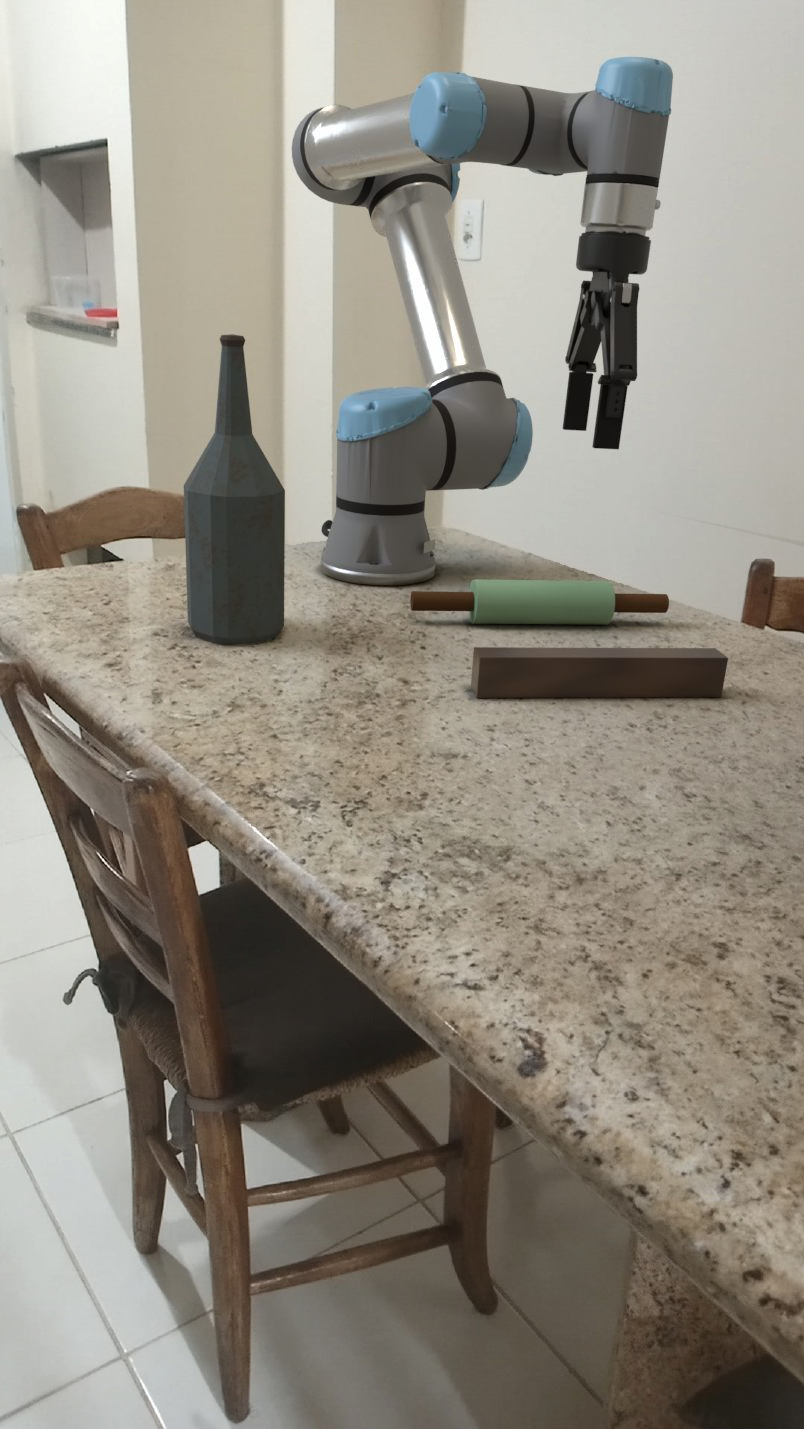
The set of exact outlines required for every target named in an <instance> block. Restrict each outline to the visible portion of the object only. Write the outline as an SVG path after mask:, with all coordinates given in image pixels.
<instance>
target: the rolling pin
mask: <svg viewBox="0 0 804 1429" xmlns="http://www.w3.org/2000/svg"><path fill="white" fill-rule="evenodd" d="M615 592H616V591H615V588H614V585H613V583H612V582H611V581H609V580H551V579H550V580H545V579H543V580H542V579H540V580H538V579H475V578H474V579H472V580H471V581H470V584H469V589H468V591H442V590H441V591H439V590H437V591H433V590H432V591H431V590H428V591H427V590H412V591H411V592H410V601H409V602H410V604H409V606H410V610H411V611H412V612H419V611H420V612H468V618H469V621H470V623H471V624H473V625H474V624H475V625H476V624H477V625H478V624H480V625H481V624H482V625H598V626H599V625H601V626H602V625H609V624H610V623H611V622H612V621H613V618H614V615H615V613H622V614H625V613H626V614H627V613H630V614H631V613H632V614H635V613H636V614H637V613H638V614H665V613H667V612H668V610H669V606H670V599H669V596H668V594H666V593H619V592H617V593H615Z"/></svg>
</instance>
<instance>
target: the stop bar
mask: <svg viewBox="0 0 804 1429" xmlns="http://www.w3.org/2000/svg"><path fill="white" fill-rule="evenodd" d="M472 652H473V654H472V665H471V679H470V689H471V690H472V692H473V693H474V696H475V697H476V699H543V698H545V699H547V698H549V699H550V698H551V699H552V698H553V699H557V698H558V699H559V698H560V699H561V698H563V699H564V698H565V699H567V698H570V699H571V698H572V699H573V698H574V699H575V698H581V699H582V698H583V699H585V698H589V699H590V698H592V699H593V698H594V699H595V698H596V699H597V698H722V696H723V690H724V684H725V679H726V672H727V668H728V662H729V657H727V656H726V655H725V654H724V653H722V652H721V651H720V650H718V648H716V647H523V646H522V647H520V646H519V647H518V646H517V647H513V646H512V647H509V646H507V647H504V646H503V647H502V646H501V647H496V646H494V647H493V646H489V647H488V646H484V647H483V646H479V647H477V646H474V647H473V651H472Z"/></svg>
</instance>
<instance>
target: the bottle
mask: <svg viewBox="0 0 804 1429" xmlns="http://www.w3.org/2000/svg"><path fill="white" fill-rule="evenodd" d="M219 342H220V345H221V351H220V362H219V374H218V375H219V376H218V377H219V378H218V389H217V400H216V411H215V412H216V413H215V424H214V433H213V435H212V436H211V437H210V440H209V441H208V443H207V445H206V446H205V448H204V450H203V451H202V453H201V455H200V457H199V458H198V460H197V462H196V463H195V465H194V467H193V468H192V470H191V472H190V473H189V475H188V477H187V479H186V480H185V482H184V484H183V508H184V509H183V510H184V538H185V539H184V540H185V541H184V542H185V544H184V545H185V571H186V572H185V574H186V577H185V578H186V607H187V622H188V624H189V627H190V630H191V631H192V632H193V634H194V637H195V638H196V639H199V640H204V641H207V642H210V643H213V644H217V645H219V644H220V645H226V646H227V645H229V646H231V645H251V644H260V643H263V642H264V643H265V642H268V641H270V640H272V639H273V638H275V637H276V636H278V635H279V634H280V633H281V632H282V630H283V628H284V626H285V556H286V555H285V553H286V551H285V550H286V549H285V548H286V546H285V541H286V539H285V537H286V534H285V533H286V531H285V530H286V526H285V525H286V490H285V488H284V486H283V484H282V483H281V481H280V479H279V477H278V476H277V474H276V472H275V471H274V468H273V467H272V465H271V463H270V462H269V460H268V459H267V456H266V455H265V454H264V452H263V450H262V448H261V446H260V445H259V442H258V441H257V440H256V438H255V436H254V435H253V426H252V418H251V416H252V415H251V408H250V399H249V397H250V396H249V388H248V378H247V369H246V360H245V358H246V357H245V350H244V346H245V344H246V338H245V337H244V336H243V335H239V334H221V335H220V337H219Z"/></svg>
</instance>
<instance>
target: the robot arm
mask: <svg viewBox="0 0 804 1429" xmlns="http://www.w3.org/2000/svg"><path fill="white" fill-rule="evenodd" d="M596 78H597V79H596V82H595V84H594V85H595V88H594V89H593V90H589V91H583V92H582V91H581V92H573V93H572V92H562V91H557V90H551V89H546V88H538V87H533V86H526V85H520V84H515V83H509V82H502V81H497V80H492V79H487V78H482V77H477V76H476V77H475V76H471V75H469V74H466V73H465V72H460V71H459V72H441V71H434V72H431V73H430V72H429V73H428V74H427V75H425V76H424V77H423V78H422V80H421V83H420V84H418V85H417V87H416V88H415V91H414V92H412V93H408V94H405V95H401V96H397V97H393V98H389V99H386V100H381V101H378V102H375V103H371V104H370V103H369V104H367V105H363V106H360V107H355V108H351V107H348V106H346V105H342V104H330V105H327V106H324V107H320V108H316V109H314V110H312V111H310V112H309V113H307V114H306V115H305V116H304V117H303V119H302V120H301V121H300V122H299V124H297V127H296V129H295V131H294V134H293V138H292V142H291V158H292V163H293V167H294V170H295V171H296V174H297V176H298V178H299V179H300V182H302V184H304V186H305V187H306V188H307V189H308V190H309V191H310V192H311V193H313V194H314V195H315V196H317V197H318V198H320V199H322V200H324V201H327V202H330V203H333V204H338V205H343V206H351V207H352V206H353V207H359V208H360V207H361V208H365V209H367V211H368V216H369V218H370V223H371V226H372V228H373V230H374V231H375V233H377V234H378V235H379V236H381V237H383V238H385V239H386V241H387V244H388V248H389V252H390V256H391V260H392V263H393V268H394V271H395V275H396V280H397V283H398V286H399V291H400V294H401V298H402V303H403V306H404V310H405V314H406V317H407V322H408V325H409V329H410V332H411V336H412V341H413V344H414V349H415V352H416V357H417V361H418V364H419V368H420V372H421V375H422V379H423V383H424V387H416V386H399V387H381V388H380V387H379V388H373V389H366V390H361V391H357V392H354V393H351V394H349V395H348V396H346V397H345V398H344V399H342V401H341V403H340V406H339V409H338V418H337V426H336V427H337V428H336V431H335V436H336V482H335V488H336V490H335V492H336V493H335V513H334V517H333V519H332V520H331V519H328V520H325V521H324V522H323V523H322V526H321V534H322V535H323V536H324V537H326V538H327V539H326V542H325V546H324V547H323V549H322V552H321V556H320V571H321V572H322V573H323V574H325V575H326V576H328V577H330V578H333V579H335V580H339V581H343V582H347V583H353V584H360V585H368V586H369V585H371V586H401V585H403V586H404V585H412V584H418V583H422V582H425V581H428V580H430V579H432V578H433V577H434V576H435V574H436V557H435V554H434V552H433V551H435V549H436V538H434V539H430V534H429V530H428V525H427V522H426V517H425V511H426V510H425V509H426V494H427V493H426V492H428V491H430V492H431V491H453V490H456V491H457V490H481V491H485V490H489V489H490V488H497V487H504V486H507V485H509V484H511V483H513V482H514V481H515V480H516V479H517V478H519V476H520V475H521V473H522V472H523V470H524V469H525V467H526V465H527V463H528V460H529V456H530V453H531V450H532V445H533V434H534V432H533V431H534V430H533V428H534V427H533V421H532V416H531V413H530V411H529V409H528V407H527V405H526V404H525V403H523V402H521V400H519V399H517V398H515V397H508V398H507V396H506V391H505V388H504V385H503V381H502V378H501V376H500V375H499V374H498V373H497V372H495V371H493V370H491V369H489V368H487V366H486V365H487V364H486V362H485V357H484V354H483V351H482V347H481V343H480V339H479V336H478V333H477V332H478V331H477V328H476V325H475V321H474V317H473V314H472V310H471V307H470V303H469V299H468V295H467V292H466V288H465V284H464V281H463V276H462V273H461V268H460V265H459V262H458V258H457V254H456V250H455V247H454V243H453V239H452V236H451V233H450V232H451V231H450V229H449V228H450V227H449V225H448V221H447V218H448V216H449V215H450V213H451V211H452V208H453V203H454V201H455V200H456V197H457V195H458V192H459V187H460V182H461V178H460V177H459V172H460V171H461V164H462V163H479V164H480V163H481V164H490V165H491V164H492V165H499V166H504V167H511V168H520V169H527V170H528V172H529V171H530V172H531V173H533V174H537V175H545V176H553V177H559V176H563V175H564V174H574V173H575V174H576V173H583V172H585V173H586V177H585V184H584V187H583V188H584V189H583V197H582V203H581V204H582V205H581V212H580V213H581V214H580V222H579V224H580V226H581V227H582V228H585V230H584V232H582V233H581V235H579V236H578V244H577V250H576V252H577V253H576V260H575V261H576V262H575V267H576V269H577V270H578V271H580V272H589V273H591V272H592V277H591V280H582V282H581V284H580V294H579V300H578V301H579V302H578V304H577V309H576V313H575V317H574V322H573V325H572V330H571V334H570V338H569V344H568V347H567V349H566V350H567V351H566V355H565V358H564V360H565V364H566V365H568V366H567V368H568V371H569V372H568V381H567V389H566V396H565V397H566V398H565V404H564V405H565V406H564V414H563V423H562V430H564V431H582V432H584V431H585V432H587V427H588V421H589V411H590V406H591V397H592V389H593V388H592V387H593V380H594V373H597V365H596V364H597V363H596V362H595V359H596V357H597V354H598V350H599V349H600V346H601V355H602V365H603V368H602V369H603V374H600V376H599V378H598V380H597V385H599V386H600V387H599V392H598V393H599V394H598V400H597V409H596V417H595V426H594V432H593V439H592V448H593V449H600V450H601V449H604V450H619V449H620V443H621V437H622V436H621V435H622V430H623V422H624V415H625V408H626V400H627V394H628V387H629V386H630V385H631V382H636V380H637V378H638V304H639V303H638V302H639V294H640V284H639V282H638V283H637V282H629V277H630V275H639V276H641V275H644V274H646V272H647V271H648V265H649V258H650V252H651V246H652V245H651V244H652V240H651V239H650V236H646V234H647V232H649V231H651V230H652V229H653V226H654V220H655V212H656V211H657V210H659V209H660V208H661V204H662V202H661V201H660V200H659V199H658V198H657V197H658V191H659V187H660V179H661V172H662V167H663V166H662V165H663V161H664V160H663V159H664V153H665V147H666V146H665V145H666V139H667V133H668V127H669V119H670V115H671V114H672V108H671V106H672V94H673V82H674V80H673V79H674V74H673V69H672V67H671V65H669V64H668V63H667V62H665V61H664V60H662V59H661V60H660V59H658V58H652V57H643V56H620V57H619V56H618V57H612V58H609V59H607V60H606V61H604V62H603V63H602V64H601V65H600V67H599V69H598V74H597V77H596Z"/></svg>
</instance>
